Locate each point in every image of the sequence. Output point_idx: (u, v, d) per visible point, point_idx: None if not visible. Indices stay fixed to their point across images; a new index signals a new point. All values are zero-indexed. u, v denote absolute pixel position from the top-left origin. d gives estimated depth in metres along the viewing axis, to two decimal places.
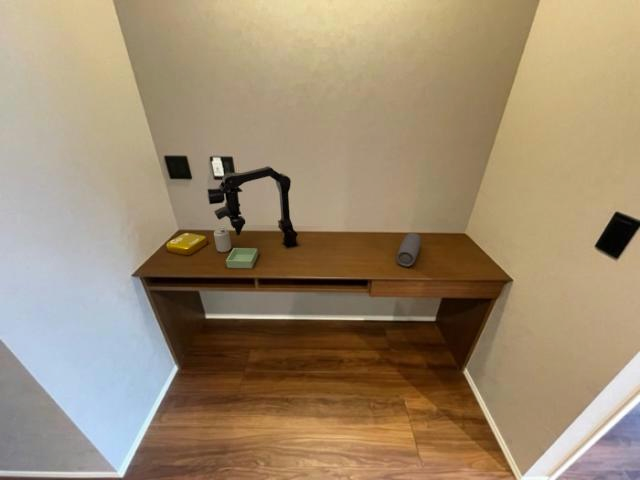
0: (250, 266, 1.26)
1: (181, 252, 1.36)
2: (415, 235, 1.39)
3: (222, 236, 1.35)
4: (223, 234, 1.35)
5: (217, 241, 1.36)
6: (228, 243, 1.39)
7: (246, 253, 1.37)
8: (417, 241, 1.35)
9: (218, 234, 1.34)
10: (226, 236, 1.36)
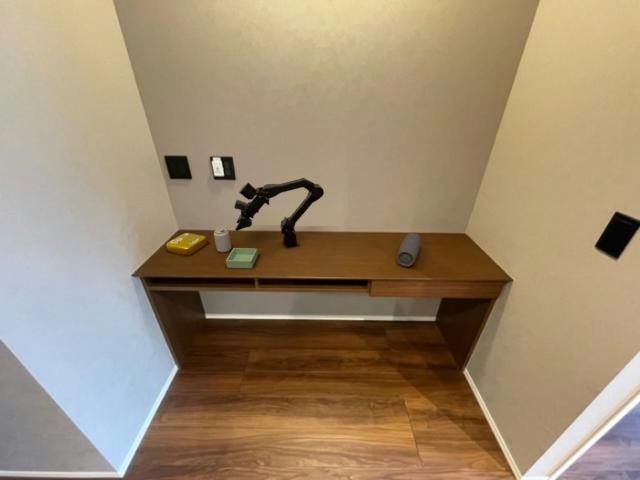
0: (250, 266, 1.26)
1: (181, 252, 1.36)
2: (415, 235, 1.39)
3: (222, 236, 1.35)
4: (223, 234, 1.35)
5: (217, 241, 1.36)
6: (228, 243, 1.39)
7: (246, 253, 1.37)
8: (417, 241, 1.35)
9: (218, 234, 1.34)
10: (226, 236, 1.36)
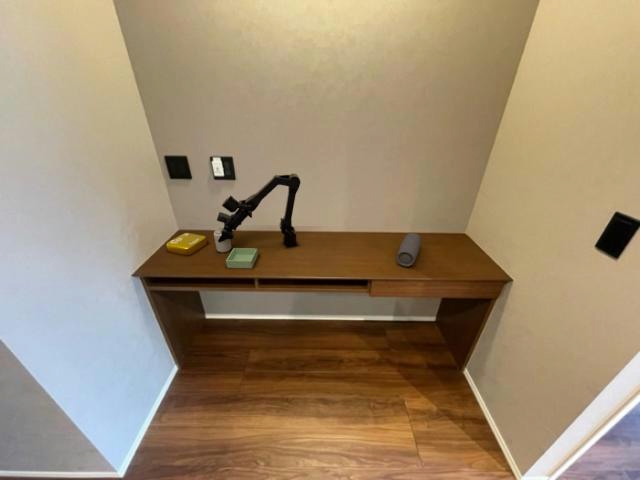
0: (250, 266, 1.26)
1: (181, 252, 1.36)
2: (415, 235, 1.39)
3: None
4: None
5: (217, 241, 1.36)
6: (228, 243, 1.39)
7: (246, 253, 1.37)
8: (417, 241, 1.35)
9: (218, 234, 1.34)
10: None
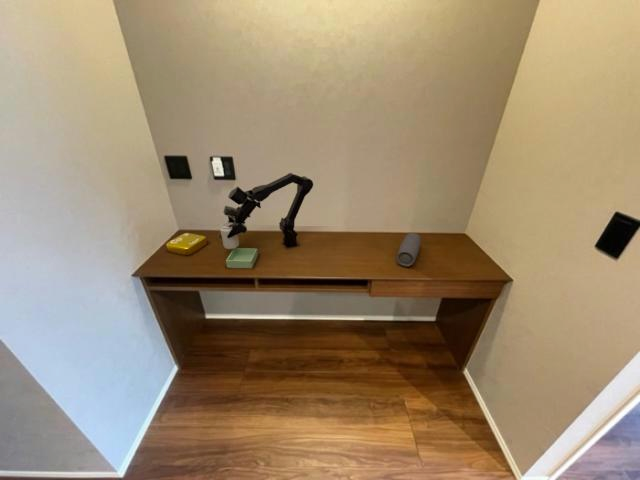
0: (250, 266, 1.26)
1: (181, 252, 1.36)
2: (415, 235, 1.39)
3: None
4: None
5: (226, 237, 1.26)
6: (237, 238, 1.30)
7: (246, 253, 1.37)
8: (417, 241, 1.35)
9: (227, 229, 1.25)
10: None
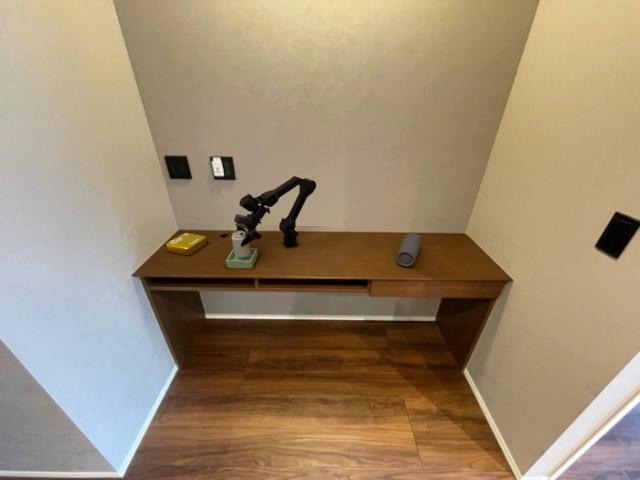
0: (250, 266, 1.26)
1: (181, 252, 1.36)
2: (415, 235, 1.39)
3: None
4: None
5: (239, 246, 1.24)
6: (248, 246, 1.29)
7: None
8: (417, 241, 1.35)
9: (240, 238, 1.23)
10: None
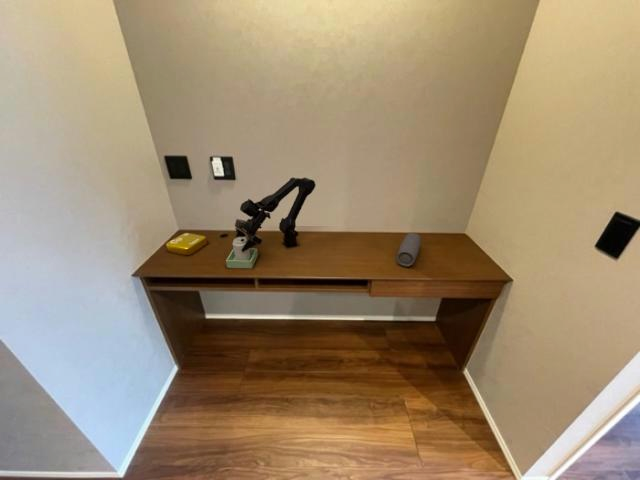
0: (250, 266, 1.26)
1: (181, 252, 1.36)
2: (415, 235, 1.39)
3: None
4: None
5: (240, 252, 1.26)
6: (249, 252, 1.30)
7: None
8: (417, 241, 1.35)
9: (241, 244, 1.24)
10: None
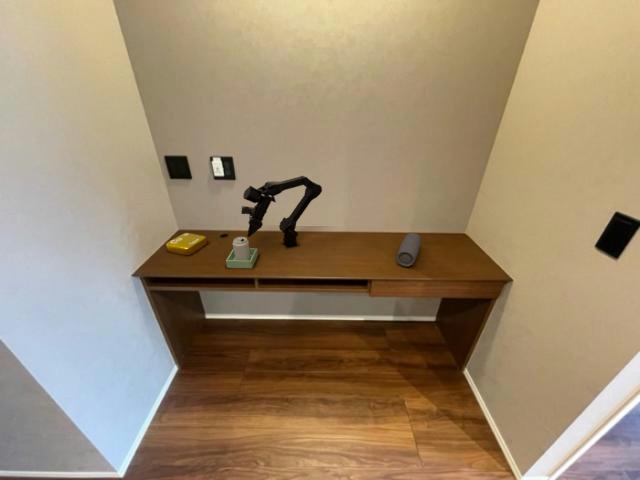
0: (250, 266, 1.26)
1: (181, 252, 1.36)
2: (415, 235, 1.39)
3: (245, 245, 1.26)
4: (246, 243, 1.26)
5: (240, 252, 1.26)
6: (249, 252, 1.30)
7: None
8: (417, 241, 1.35)
9: (241, 244, 1.24)
10: (248, 244, 1.28)
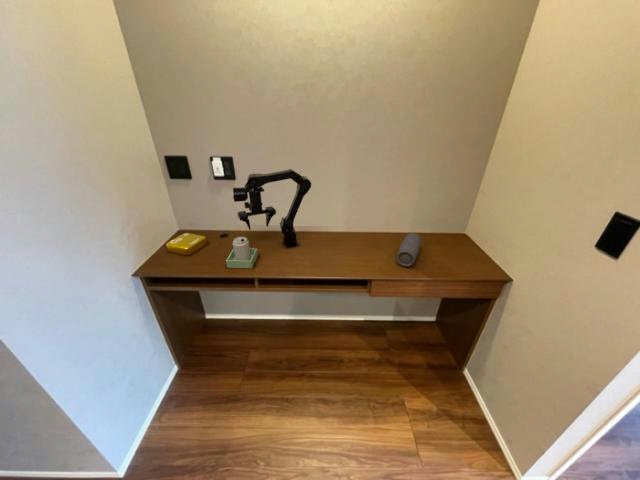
0: (250, 266, 1.26)
1: (181, 252, 1.36)
2: (415, 235, 1.39)
3: (245, 245, 1.26)
4: (246, 243, 1.26)
5: (240, 252, 1.26)
6: (249, 252, 1.30)
7: None
8: (417, 241, 1.35)
9: (241, 244, 1.24)
10: (248, 244, 1.28)
